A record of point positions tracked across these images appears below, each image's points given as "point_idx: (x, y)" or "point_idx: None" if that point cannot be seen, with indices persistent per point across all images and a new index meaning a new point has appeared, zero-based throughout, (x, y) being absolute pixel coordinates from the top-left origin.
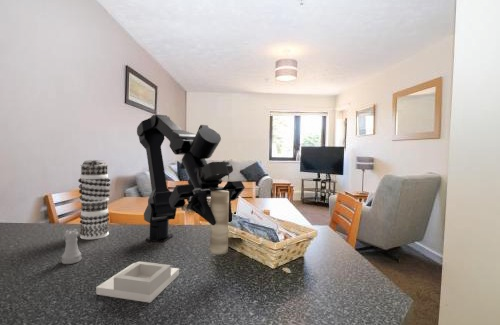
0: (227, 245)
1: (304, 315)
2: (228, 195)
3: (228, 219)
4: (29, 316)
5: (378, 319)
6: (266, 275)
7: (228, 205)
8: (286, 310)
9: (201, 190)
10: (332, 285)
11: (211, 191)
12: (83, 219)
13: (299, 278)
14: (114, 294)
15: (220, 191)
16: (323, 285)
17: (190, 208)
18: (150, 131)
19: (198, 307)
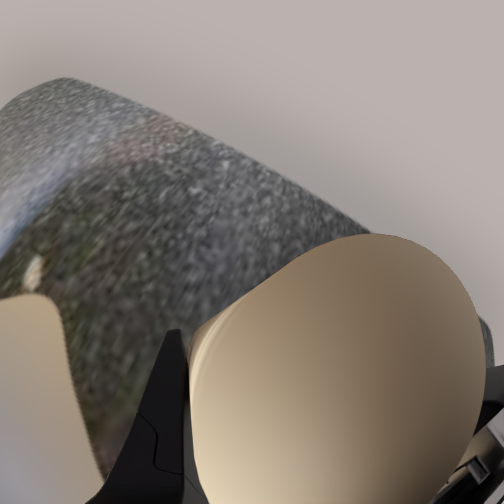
0: (200, 326)
1: (149, 119)
2: (244, 298)
3: (196, 337)
4: (481, 326)
5: (79, 82)
6: (93, 276)
7: (214, 320)
8: (163, 140)
9: (491, 490)
10: (27, 165)
11: (468, 436)
12: None
13: (44, 219)
14: None
15: (375, 440)
16: (37, 172)
17: None
18: None
19: (310, 232)
